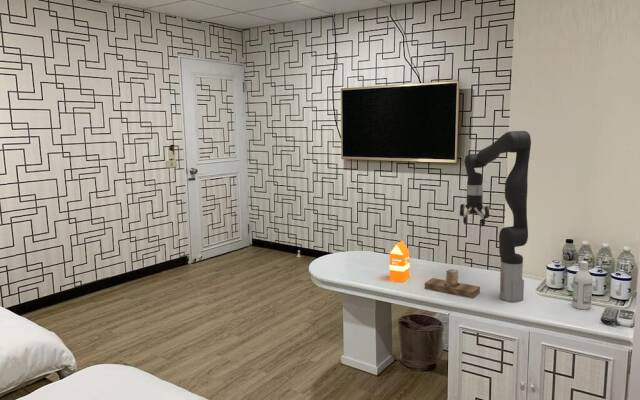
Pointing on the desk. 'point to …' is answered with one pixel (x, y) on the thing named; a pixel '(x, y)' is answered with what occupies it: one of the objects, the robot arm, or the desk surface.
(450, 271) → the tan cylinder
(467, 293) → the brown wooden slotted board
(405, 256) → the orange juice
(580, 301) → the bath foam
